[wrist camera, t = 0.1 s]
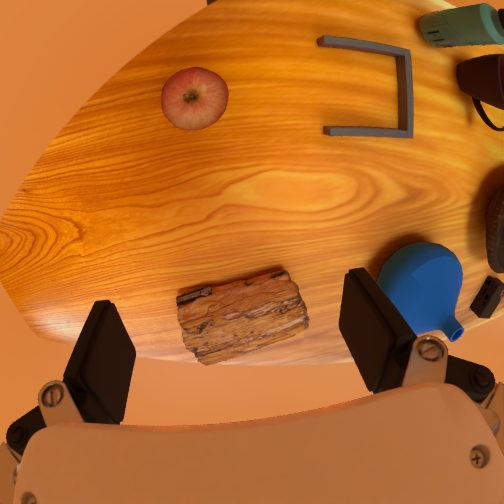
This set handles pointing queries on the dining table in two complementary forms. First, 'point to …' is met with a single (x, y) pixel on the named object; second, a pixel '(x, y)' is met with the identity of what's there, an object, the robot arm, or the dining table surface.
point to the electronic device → (488, 298)
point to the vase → (424, 287)
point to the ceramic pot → (495, 232)
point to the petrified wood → (241, 316)
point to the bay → (403, 88)
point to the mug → (483, 82)
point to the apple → (194, 98)
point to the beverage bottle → (464, 26)
